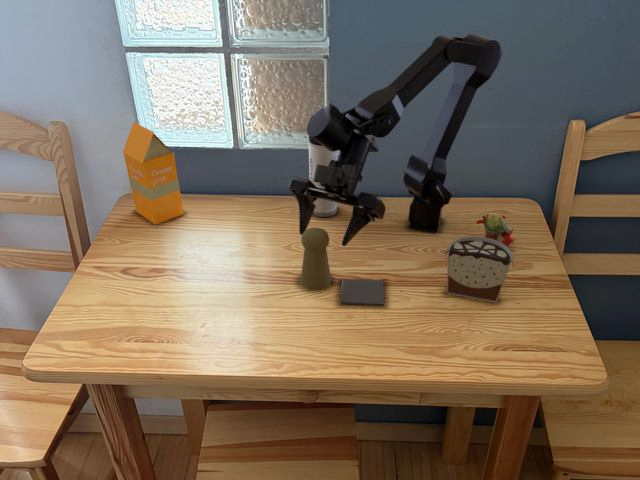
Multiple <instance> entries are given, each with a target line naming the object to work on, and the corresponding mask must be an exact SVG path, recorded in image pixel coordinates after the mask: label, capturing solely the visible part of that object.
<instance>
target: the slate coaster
mask: <svg viewBox="0 0 640 480" xmlns="http://www.w3.org/2000/svg"><path fill="white" fill-rule="evenodd" d="M341 280H342V281H341V282H342V283H341V296H340V305H344V306H345V305H346V306H368V307H369V306H370V307H371V306H373V307H385V306H384V305H385V295H384V293H385V290H384V289H385V288H384V287H385V286H384V280H381V279H355V278H353V279H352V278H351V279H350V278H348V279H347V278H342V279H341Z"/></svg>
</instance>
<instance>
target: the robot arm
mask: <svg viewBox="0 0 640 480" xmlns="http://www.w3.org/2000/svg"><path fill="white" fill-rule="evenodd" d="M502 57H503V51H502V46H501V44H500V42H499V41H498V40H496V39H492V38H489V37H486V36H483V35H479V34H477V33H469V34H467V35H466V36H464V37H460V36H447V35H443V34H442V35H438V36H436V37H434V39H433V40H432V43H431V45H430V46H429V47H427V49H425V51H424V52H422V53H421V54H420V55H419V56H418V57H417V58H416V59H415V60H414V61H413V62H412V63H410V64H409V66H407V68H405V70H403V72H402V73H401V74H400V75H398V76H397V77H396V78H395V79H394V80H393V81H392V82H391V83H390V84H388V85H387V86H386V87H383V88H381V89H378V90H376V91H373V92H372V93H370V94H368V95H367V96H366V97H364V98H363V99H362V100H360V101H359V103H358V104H357V105H355V106H353V107H352V108H349V109H347V110H345V111H342V112H341V111H340V109H339V108H338V107H337V106H335V105H334V104H332V103H331V102H328V103H327V104H326V105H325V107H323V108H320V109H318V110H317V111H315V112H314V113H313V114H312V115H311V116H310V118H309V119H308V121H307V124H306V134H307V135H308V137H309V136H310V137H311V138H313V139H314V140H315V141H317V142H318V143H319V144H321V145H322V146H324V147H325V148H326V149H328V150H329V151H332V152H334V151H337V154H336V157H335V160H331V161H330V162H329V165H328V166H324V165H319V164H316V169H315V174H314V180H313V182H317V183H319V182H320V185H321V186H323V187H325V188H324V189H321V188H317V187H316V186H315V185H314V184H313V183H312V181H311V180H309V179H308V178H303V177H297V176H295V177H293V178H292V179H291V180H290V181H289V184H288V186H287V190H288V191H289V192H290V193H291V195H292V196H293V197H294V199H296V200H297V203H298V212H299V214H298V215H299V216H298V217H299V221H298V223H299V225H298V226H299V229H298V230H299V232H298V233H299V234H300V235H301V236H302V234H303V233H304V231H305V230H307V229H308V226H309V224H310V221H311V219H312V217H313V212H314V209H315V207H316V205H315V204H314V203H313V202H314V201H316V200H317V198H319V199H324V200H328V201H332V202H336V203H337V204H339V205H340V204H341V205H345V206H350V207H352V213H351V218H350V220H349V223H348V225H347V228H346V230H345V232H344V235H343V238H342V241H341V245H342V246H343V247H346V246H347V245H348V244H349V243H350V242H351V241H352V240H353V238H355V237H356V236H357V234H359V232H360V231H362V230H363V229H364V228H365V227H366V226H367V225H369V223H375V222H376V219H377V220H383V219H384V216H385V213H386V209H387V208H386V205H385V203H384V202H383V200H382V199H381V197H380V195H378V194H373V193H368V192H364V191H360V193H359V194H358V195H357V196H356V195H355V192H356V189H357V187H358V183H359V182H361V183H362V180H363V175H362V172H363V169H364V166H365V164H366V161H367V158H368V156H369V153H379V146H378V144H377V143H376V138H386V137H387V136H388V135H389V134H390V133H391V132H392V131H393V130H394V129H395V127H396V126H397V125H398V124H399V122H400V121H401V119H402V118H403V114H404V110H405V109H406V108H407V106H408V105H409V104H410V103H411V102H412V101H413V100H414V99H415V98H417V96H418V95H419V94H420V93H421V92H423V91H424V90H425V88H426V87H428V85H430V84H431V83H432V82H433V81H434V80H435V79H436V78H437V77H438V76H439V75H440V74H441V73H442V72H443V71H445V69H446V68H447V67H448V66H449V65H451V64H453V81H452V84H451V86H450V87H449V91H448V93H447V95H446V98H445V101H444V102H443V104H442V107H441V110H440V112H439V115H438V116H437V119H436V122H435V123H434V126H433V128H432V131H431V133H430V135H429V137H428V140H427V142H426V145H425V147H424V149H423V150H422V151H421V152H420V153H418V154H417V155H414V154H411V155H410V156H409V158H408V161H407V165H406V166H405V168H404V170H403V171H402V173H403V174H404V175H403V178H402V179H403V180H402V181H403V183H404V186H405V188H406V189H407V191H408V194H409V195H412V196H413V198H412V201H411V202H410V204H409V211H408V223H409V224H408V228H409V229H414V230H418V231H419V230H420V231H426V232H432V233H437V232H438V231H439V230H440V226H441V223H442V221H443V217H442V215H443V208H444V206H446V205H449V203H450V202H451V199H452V196H453V194H452V193H451V192H450V190H448V189H447V188H446V187H445V186H444V184H445V181H446V178H447V157H448V156H449V153H450V151H451V148H452V146H453V144H454V141H455V140H456V137H457V135H458V133H459V130H460V129H461V127H462V124H463V122H464V120H465V117H466V116H467V113H468V111H469V109H470V106H471V104H472V102H473V99H474V98H475V95H476V93H477V91H478V89H480V88H481V87H482V86H483V85H484V84H485V83H486V82H488V81H489V80H490V79H491V78H492V76H493V75H494V73H495V71H496V69H497V67H498V66H499V64H500V63H501V60H502ZM368 136H370V137H368ZM371 136H372V137H371ZM328 195H330V196H328ZM331 196H333V197H331Z"/></svg>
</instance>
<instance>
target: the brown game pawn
mask: <svg viewBox="0 0 640 480" xmlns="http://www.w3.org/2000/svg"><path fill="white" fill-rule="evenodd" d="M300 241H301V244H302V247H303V248H304V249H303V255H302V256H303V257H302V266H301V274H300V285H301V286H302V287H303V288H305V289H308V290H312V291H313V290H314V291H319V290H323V289H326V288H328V287H329V286H330V285H331V283H332V277H331V271H330V263H329V257H328V251H327V250H328V249H327V248H328V246H329V243H330V236H329V233H328V232H327V230H325V229H323V228H320V227H310V228H307V229H306V230H305V231H304V233H303V234H302V235H301V238H300Z"/></svg>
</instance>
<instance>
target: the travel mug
mask: <svg viewBox="0 0 640 480" xmlns="http://www.w3.org/2000/svg"><path fill="white" fill-rule="evenodd" d="M337 151H338V150H337ZM337 151H334V152H332V151H329V150H328V149H326V148H325V147H324V146H322V145H321V144H319V143H318V142H317V141H315V140H314V139H313V138H311V137H310V136H309V135H308V166H309V167H308V172H309V173H308V175H309V179H308V180H311V181H312V183H313V184H314V185H315V186H316V187H317V188H321V189H324V188H325V187H323V186H321V185H320V182H319V183H317V182H313V180H314V174H315V169H316V164H319V165H324V166H328V165H329V162H330V161H331V160H335V157H336V154H337ZM328 196H330V195H328ZM331 197H333V196H331ZM313 203H314V204H315V205H316V207H315V209H314V212H313V214H312V216H313V215H314V216H315V217H320V218H326V217H331V216H333V215H335V214H336V213H337V211H338V203H336V202H332V201H328V200H324V199H319V198H317V200H316V201H314V202H313Z"/></svg>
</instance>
